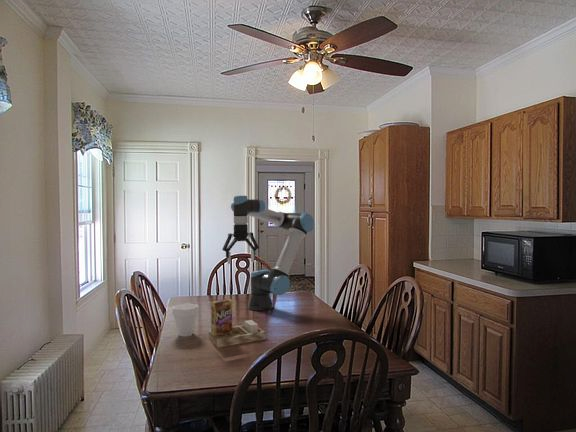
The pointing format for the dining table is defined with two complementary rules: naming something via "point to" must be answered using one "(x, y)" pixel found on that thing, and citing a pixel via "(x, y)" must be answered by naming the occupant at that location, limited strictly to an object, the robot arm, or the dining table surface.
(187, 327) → the cup
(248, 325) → the white rectangular carton
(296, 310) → the dining table surface
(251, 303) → the robot arm
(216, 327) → the candy box
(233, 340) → the rack
